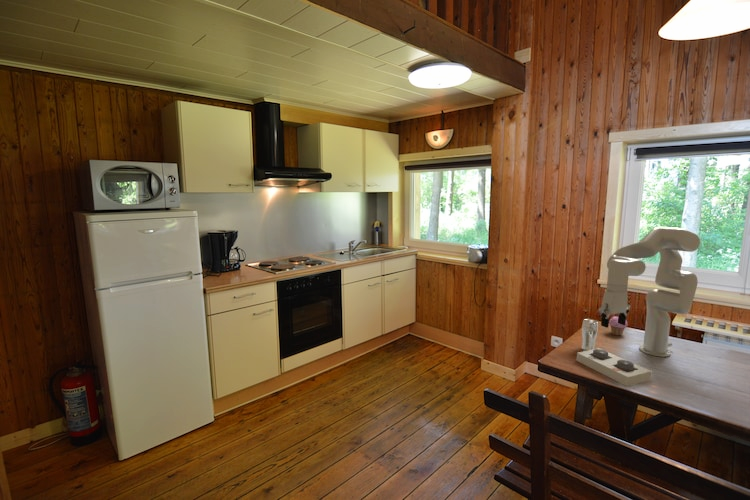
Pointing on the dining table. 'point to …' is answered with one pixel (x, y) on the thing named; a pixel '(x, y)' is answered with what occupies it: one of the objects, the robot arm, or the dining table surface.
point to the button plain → (600, 354)
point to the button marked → (625, 365)
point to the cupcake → (616, 326)
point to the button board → (614, 368)
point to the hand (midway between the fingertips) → (613, 325)
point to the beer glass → (589, 334)
